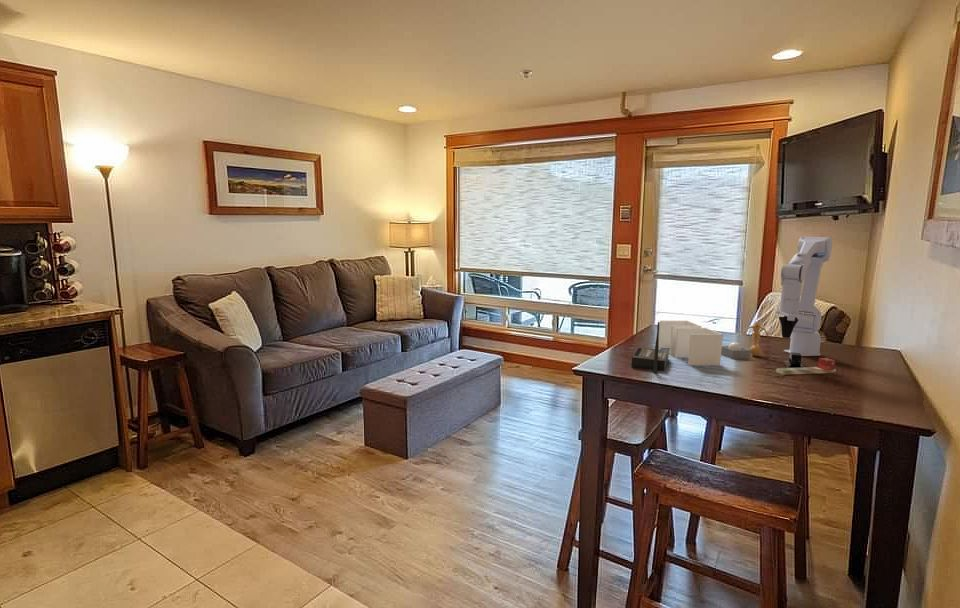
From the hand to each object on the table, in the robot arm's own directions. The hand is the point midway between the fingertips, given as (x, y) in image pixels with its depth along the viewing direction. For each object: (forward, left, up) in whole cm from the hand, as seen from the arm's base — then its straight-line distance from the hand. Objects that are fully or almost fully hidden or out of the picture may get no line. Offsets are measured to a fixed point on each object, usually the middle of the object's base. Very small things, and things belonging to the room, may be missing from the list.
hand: (786, 337), depth 176 cm
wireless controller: (+49, -4, -10) cm, 50 cm away
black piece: (-3, +2, -10) cm, 11 cm away
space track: (+1, +11, -9) cm, 14 cm away
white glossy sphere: (+10, -12, -9) cm, 18 cm away
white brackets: (+28, -14, -10) cm, 33 cm away
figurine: (+2, -12, -10) cm, 15 cm away
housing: (+10, -12, -9) cm, 18 cm away
